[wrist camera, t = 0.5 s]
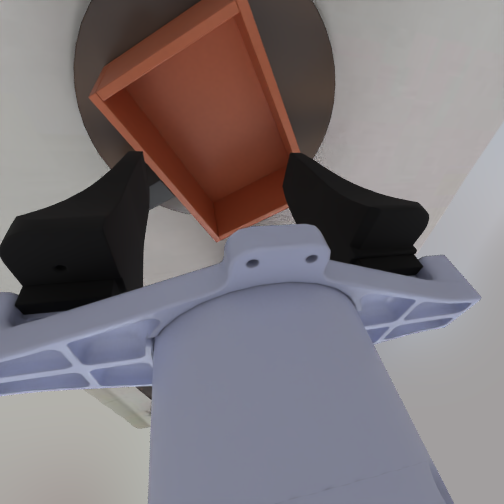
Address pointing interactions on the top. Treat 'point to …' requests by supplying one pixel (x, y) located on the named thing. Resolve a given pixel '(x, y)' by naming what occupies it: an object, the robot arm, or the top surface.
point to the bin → (204, 116)
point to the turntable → (274, 41)
